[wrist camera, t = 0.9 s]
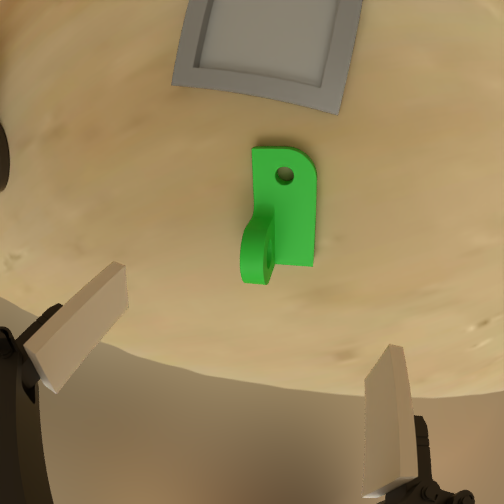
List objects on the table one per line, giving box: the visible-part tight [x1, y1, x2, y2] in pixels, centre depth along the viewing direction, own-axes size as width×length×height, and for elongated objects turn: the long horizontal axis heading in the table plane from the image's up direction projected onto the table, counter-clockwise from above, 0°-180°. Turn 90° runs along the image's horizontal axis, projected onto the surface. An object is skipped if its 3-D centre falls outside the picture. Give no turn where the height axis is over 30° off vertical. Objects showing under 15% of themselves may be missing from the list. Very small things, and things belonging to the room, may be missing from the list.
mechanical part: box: [240, 146, 317, 285], centre depth 27 cm, size 12×6×8 cm, turn 3°
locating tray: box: [171, 0, 363, 115], centre depth 20 cm, size 16×20×2 cm
